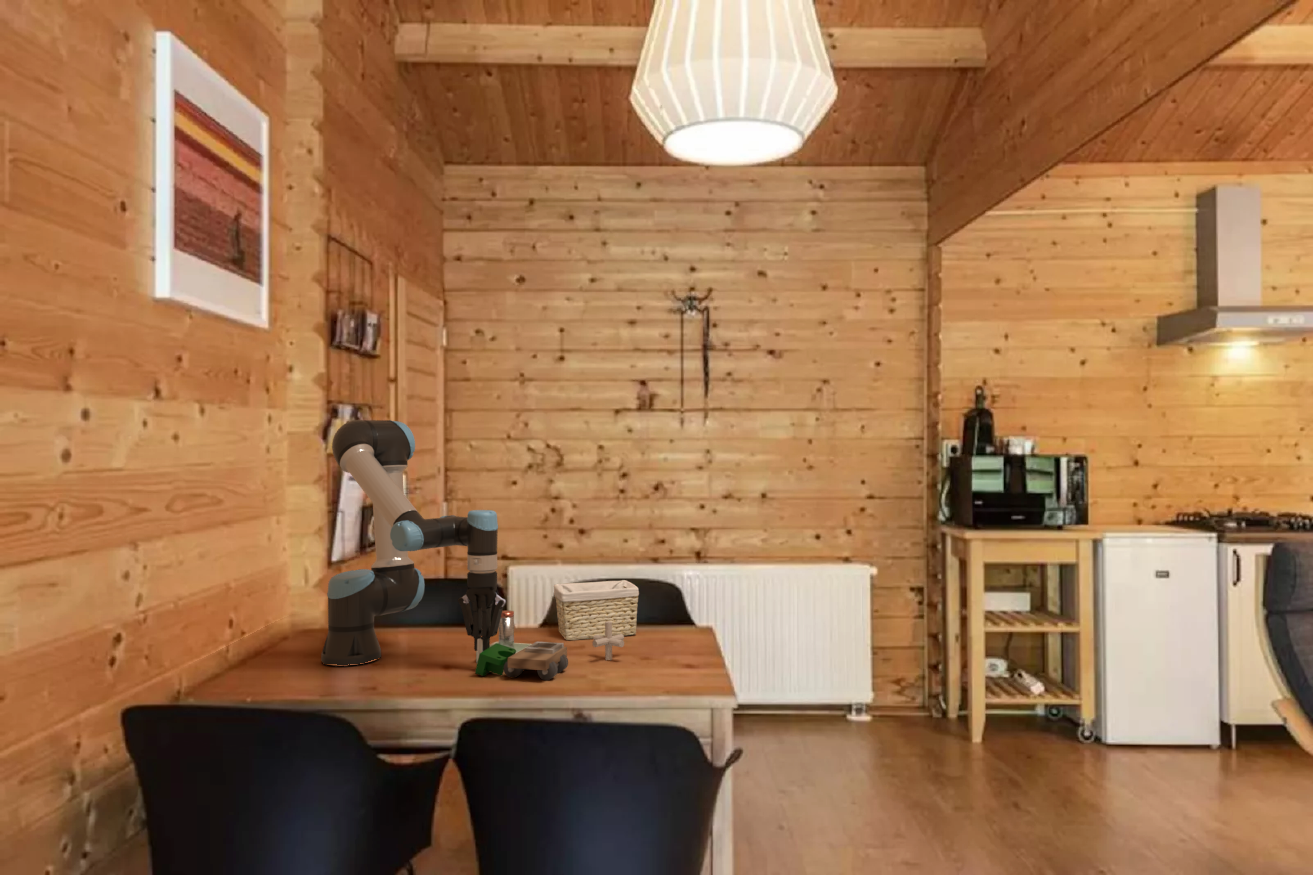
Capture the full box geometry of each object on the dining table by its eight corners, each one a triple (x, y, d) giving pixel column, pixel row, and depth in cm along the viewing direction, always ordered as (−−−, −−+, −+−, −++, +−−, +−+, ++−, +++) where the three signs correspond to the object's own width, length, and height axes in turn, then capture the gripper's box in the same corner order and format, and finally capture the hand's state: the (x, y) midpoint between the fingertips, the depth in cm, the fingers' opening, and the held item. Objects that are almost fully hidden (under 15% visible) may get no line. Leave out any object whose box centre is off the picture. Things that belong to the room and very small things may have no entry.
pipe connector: (582, 660, 229) (581, 622, 229) (609, 653, 236) (609, 616, 236) (608, 666, 222) (608, 627, 222) (635, 659, 229) (635, 621, 230)
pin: (496, 658, 229) (496, 613, 229) (502, 654, 233) (502, 610, 233) (510, 659, 228) (510, 613, 228) (516, 655, 232) (516, 610, 232)
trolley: (499, 679, 210) (499, 653, 210) (523, 665, 224) (523, 640, 224) (550, 683, 207) (550, 656, 207) (571, 668, 220) (571, 643, 220)
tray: (476, 663, 227) (476, 651, 227) (495, 652, 238) (495, 641, 238) (516, 665, 224) (516, 654, 224) (534, 655, 235) (534, 644, 235)
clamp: (496, 693, 214) (498, 665, 210) (474, 686, 215) (476, 657, 211) (516, 664, 224) (519, 636, 221) (495, 657, 226) (497, 629, 222)
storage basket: (561, 642, 250) (561, 591, 250) (552, 630, 265) (552, 583, 266) (641, 637, 256) (640, 587, 256) (627, 625, 272) (627, 579, 272)
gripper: (452, 572, 217) (451, 665, 217) (498, 574, 214) (498, 669, 214) (466, 568, 225) (466, 658, 224) (511, 570, 221) (511, 662, 221)
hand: (481, 663), depth 219 cm, fingers closed
